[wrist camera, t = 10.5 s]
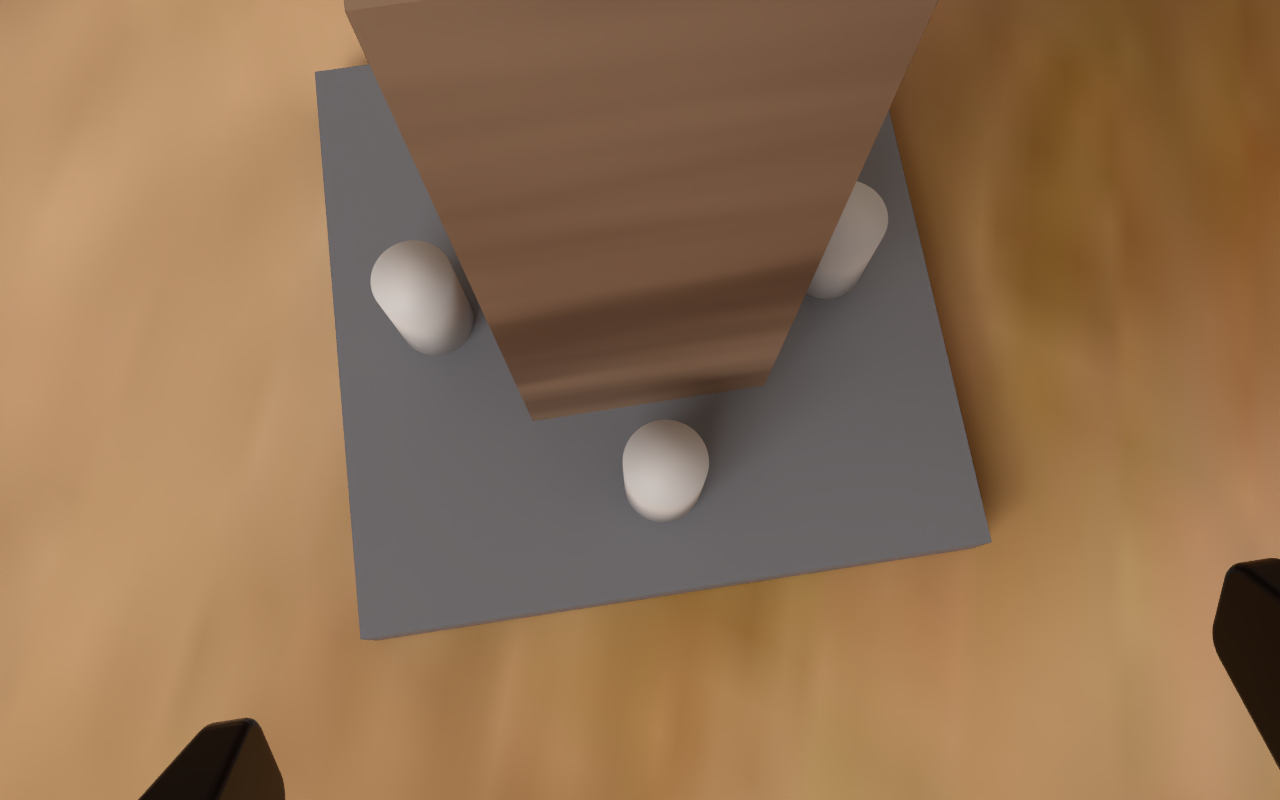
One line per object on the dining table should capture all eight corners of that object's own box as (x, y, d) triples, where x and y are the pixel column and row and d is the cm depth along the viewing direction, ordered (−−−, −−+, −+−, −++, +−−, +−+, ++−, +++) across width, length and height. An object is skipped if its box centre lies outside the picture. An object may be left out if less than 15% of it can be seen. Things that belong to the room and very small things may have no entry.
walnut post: (764, 385, 22) (972, -75, 8) (532, 421, 21) (343, 10, 8) (723, 174, 23) (842, -534, 9) (504, 206, 23) (297, -469, 9)
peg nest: (972, 548, 22) (1037, 526, 18) (375, 640, 21) (322, 636, 18) (852, 29, 25) (887, -76, 22) (330, 99, 25) (277, 4, 21)
